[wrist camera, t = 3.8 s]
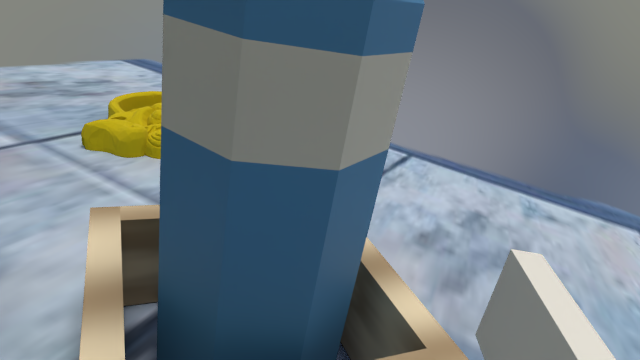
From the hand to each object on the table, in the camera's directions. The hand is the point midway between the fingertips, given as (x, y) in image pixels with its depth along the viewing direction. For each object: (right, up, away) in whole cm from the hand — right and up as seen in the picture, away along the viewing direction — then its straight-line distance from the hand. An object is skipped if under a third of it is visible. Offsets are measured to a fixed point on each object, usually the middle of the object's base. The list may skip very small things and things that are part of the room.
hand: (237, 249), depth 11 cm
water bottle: (-2, -9, +14) cm, 16 cm away
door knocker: (-15, +7, +42) cm, 45 cm away
